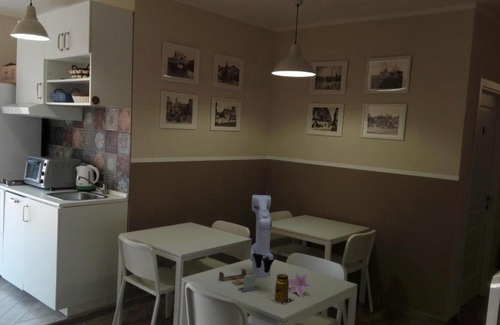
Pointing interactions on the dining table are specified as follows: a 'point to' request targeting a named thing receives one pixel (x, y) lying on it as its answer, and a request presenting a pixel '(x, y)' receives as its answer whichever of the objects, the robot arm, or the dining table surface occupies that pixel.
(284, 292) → the condiment
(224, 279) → the rack
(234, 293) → the dining table surface
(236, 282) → the offcut upper
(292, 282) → the lily
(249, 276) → the sheet
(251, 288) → the stand
